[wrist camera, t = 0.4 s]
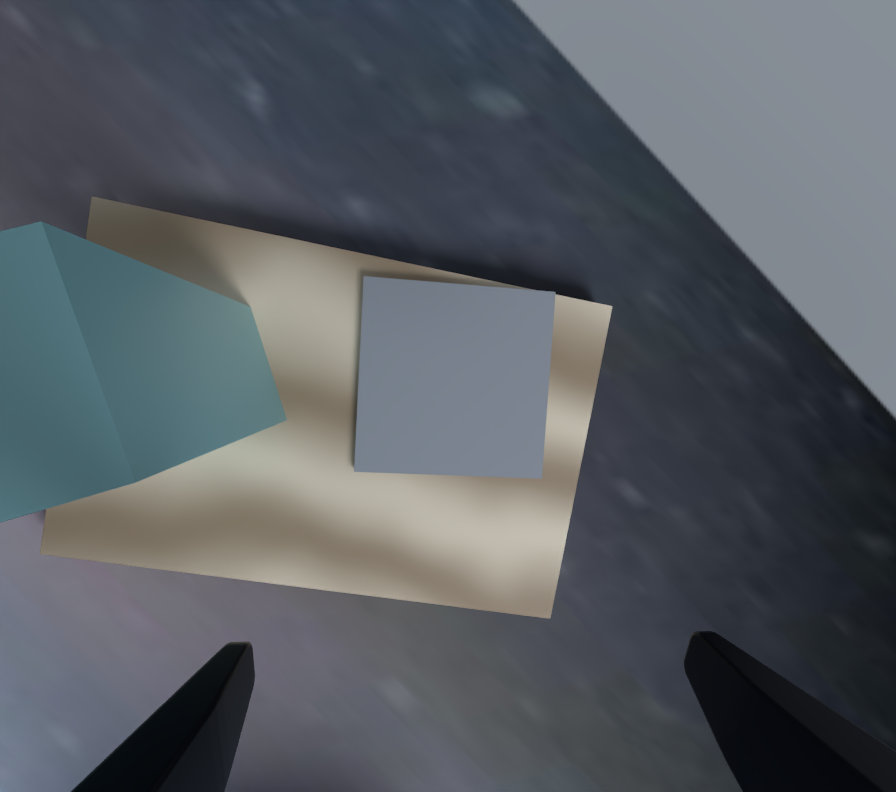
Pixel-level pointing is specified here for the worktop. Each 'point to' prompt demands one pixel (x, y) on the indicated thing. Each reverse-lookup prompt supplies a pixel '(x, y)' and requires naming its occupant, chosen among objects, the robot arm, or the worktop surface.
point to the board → (333, 445)
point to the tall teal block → (114, 370)
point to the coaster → (453, 379)
